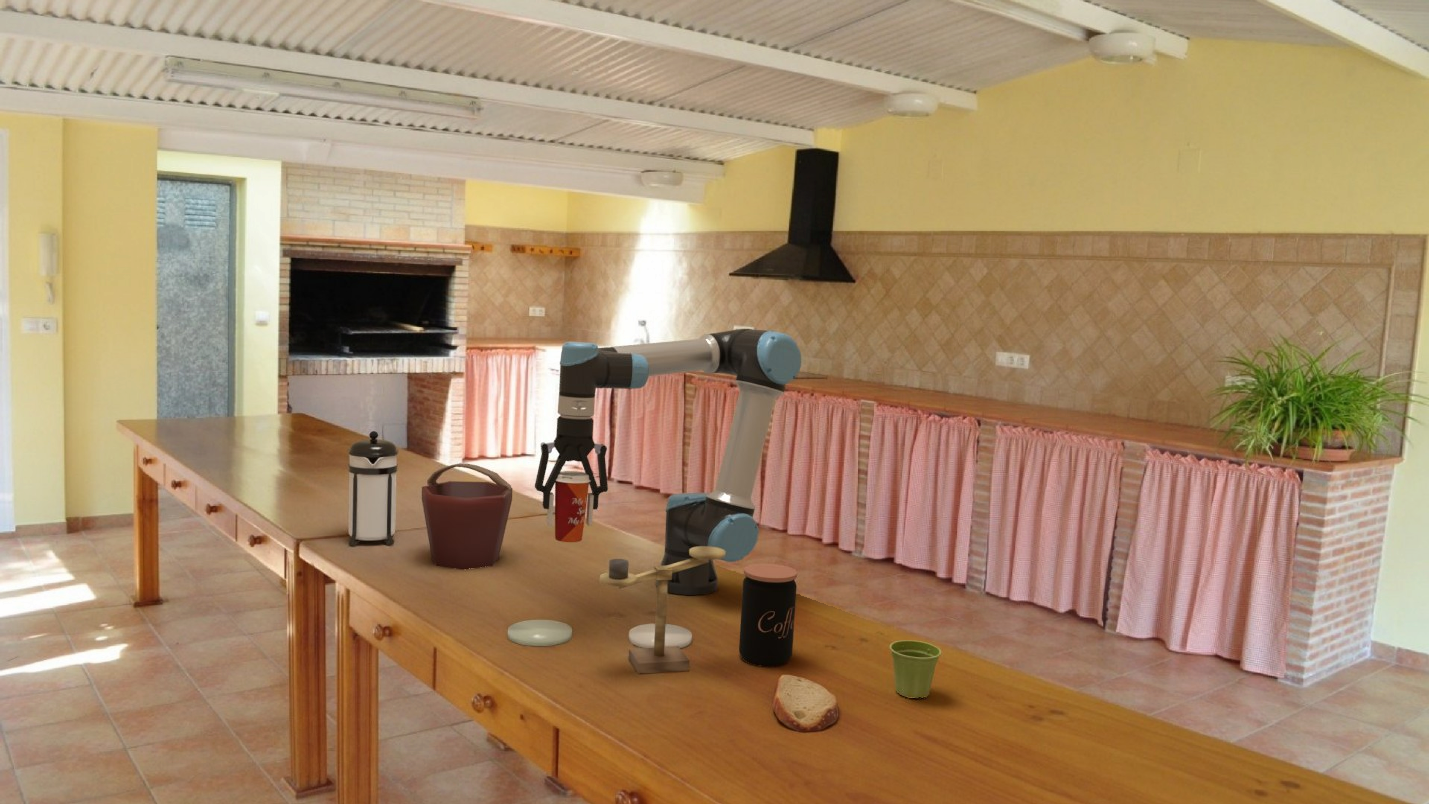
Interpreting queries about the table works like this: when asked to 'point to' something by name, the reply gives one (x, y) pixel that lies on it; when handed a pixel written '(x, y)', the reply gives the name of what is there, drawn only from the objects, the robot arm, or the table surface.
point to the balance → (658, 608)
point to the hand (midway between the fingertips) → (569, 524)
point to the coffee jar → (767, 614)
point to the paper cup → (570, 505)
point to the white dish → (673, 636)
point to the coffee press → (372, 490)
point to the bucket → (466, 519)
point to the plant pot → (914, 666)
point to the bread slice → (804, 704)
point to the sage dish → (539, 632)
